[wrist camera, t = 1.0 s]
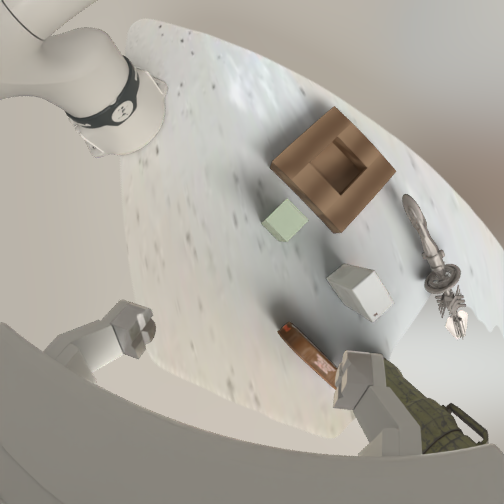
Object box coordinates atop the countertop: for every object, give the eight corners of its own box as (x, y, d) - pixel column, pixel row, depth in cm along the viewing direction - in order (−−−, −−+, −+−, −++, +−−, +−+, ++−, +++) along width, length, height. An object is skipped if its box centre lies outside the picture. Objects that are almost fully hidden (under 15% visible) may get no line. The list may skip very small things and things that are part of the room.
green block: (261, 223, 44) (265, 219, 35) (278, 206, 44) (287, 198, 35) (278, 241, 45) (287, 242, 36) (296, 223, 45) (308, 220, 36)
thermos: (333, 382, 46) (422, 524, 11) (381, 340, 46) (513, 440, 11) (356, 405, 47) (439, 529, 12) (400, 367, 46) (514, 462, 11)
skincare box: (362, 289, 45) (395, 304, 33) (343, 304, 45) (373, 324, 34) (344, 261, 45) (375, 269, 33) (324, 277, 45) (350, 290, 33)
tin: (273, 325, 45) (279, 343, 37) (287, 313, 45) (296, 328, 37) (327, 377, 46) (341, 400, 38) (340, 366, 46) (356, 387, 38)
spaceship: (429, 177, 37) (415, 201, 34) (481, 324, 42) (469, 353, 39) (395, 189, 44) (377, 212, 41) (453, 323, 50) (440, 350, 47)
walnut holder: (269, 167, 44) (272, 161, 40) (328, 115, 44) (334, 106, 40) (333, 233, 45) (341, 232, 41) (385, 175, 45) (396, 171, 41)
